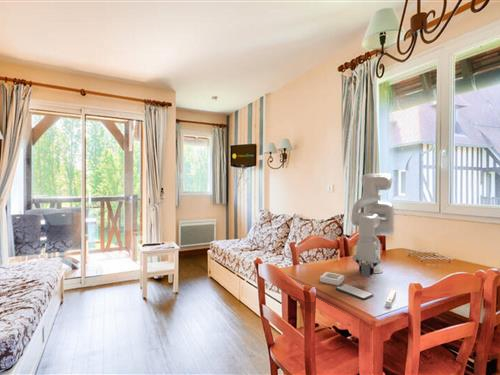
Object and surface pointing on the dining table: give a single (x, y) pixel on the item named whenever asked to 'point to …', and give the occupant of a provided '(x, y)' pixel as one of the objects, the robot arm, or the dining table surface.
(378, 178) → the robot arm
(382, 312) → the dining table surface
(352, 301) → the dining table surface
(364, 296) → the phone case
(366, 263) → the plug
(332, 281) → the white square shallow tray
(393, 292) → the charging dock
